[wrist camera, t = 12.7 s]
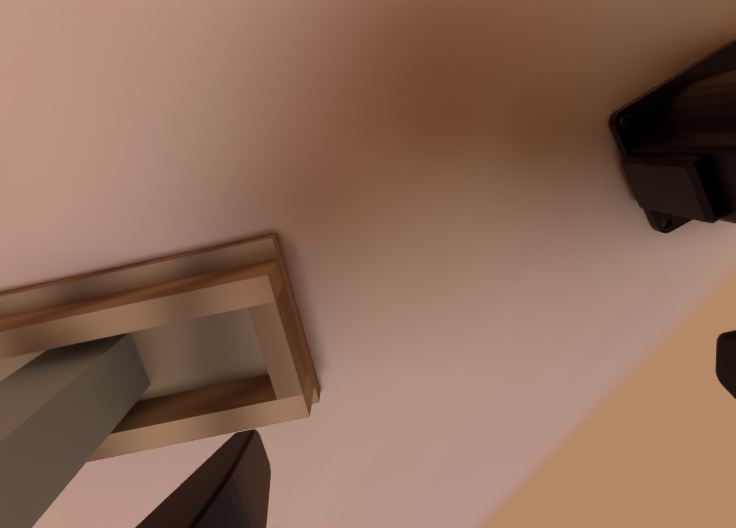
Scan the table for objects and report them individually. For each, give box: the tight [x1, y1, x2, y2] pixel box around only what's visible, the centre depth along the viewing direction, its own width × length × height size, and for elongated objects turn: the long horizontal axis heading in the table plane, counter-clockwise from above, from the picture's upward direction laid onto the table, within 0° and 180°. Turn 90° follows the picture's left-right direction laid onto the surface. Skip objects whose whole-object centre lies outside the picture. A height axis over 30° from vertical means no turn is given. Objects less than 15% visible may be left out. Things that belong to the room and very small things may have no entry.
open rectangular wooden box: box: [0, 234, 320, 462], centre depth 20 cm, size 20×9×4 cm, turn 102°
